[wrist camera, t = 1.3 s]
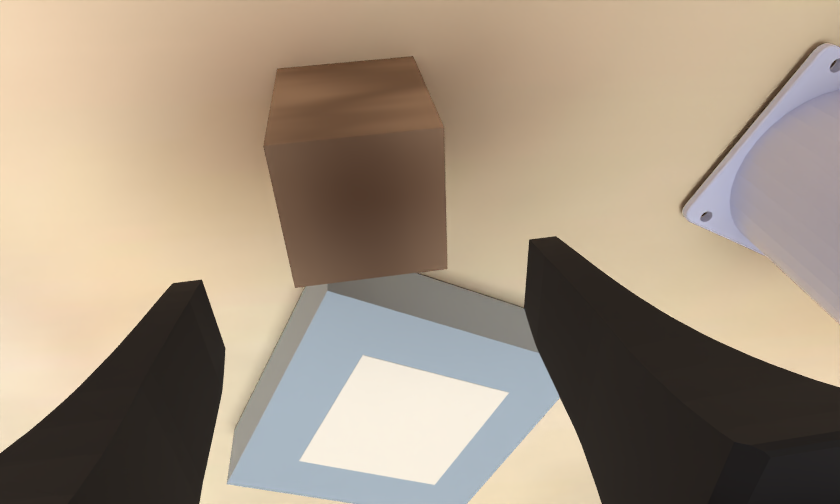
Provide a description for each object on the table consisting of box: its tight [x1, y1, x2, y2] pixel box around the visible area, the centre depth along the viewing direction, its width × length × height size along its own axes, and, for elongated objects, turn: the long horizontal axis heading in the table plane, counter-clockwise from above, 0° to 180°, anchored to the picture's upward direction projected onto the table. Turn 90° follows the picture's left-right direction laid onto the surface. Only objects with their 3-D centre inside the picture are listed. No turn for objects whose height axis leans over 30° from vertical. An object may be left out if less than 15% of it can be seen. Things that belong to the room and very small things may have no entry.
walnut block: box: [264, 56, 447, 288], centre depth 18 cm, size 4×4×6 cm
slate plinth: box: [227, 273, 560, 504], centre depth 27 cm, size 12×12×3 cm
